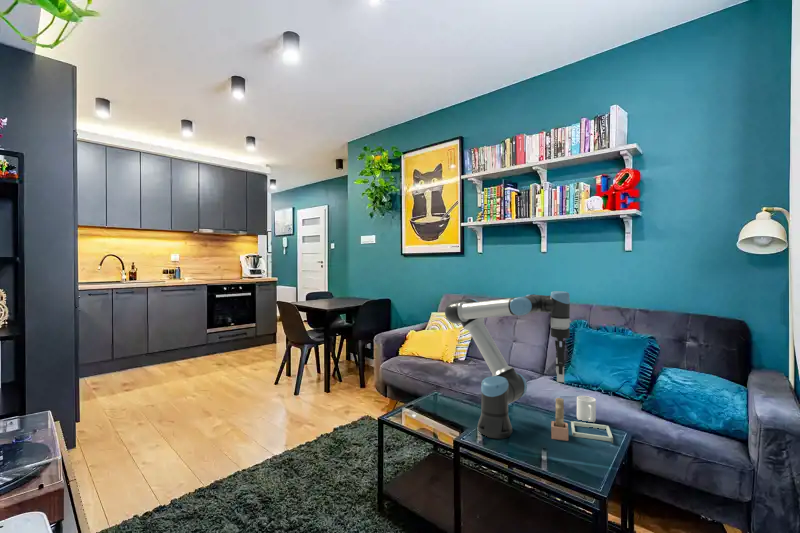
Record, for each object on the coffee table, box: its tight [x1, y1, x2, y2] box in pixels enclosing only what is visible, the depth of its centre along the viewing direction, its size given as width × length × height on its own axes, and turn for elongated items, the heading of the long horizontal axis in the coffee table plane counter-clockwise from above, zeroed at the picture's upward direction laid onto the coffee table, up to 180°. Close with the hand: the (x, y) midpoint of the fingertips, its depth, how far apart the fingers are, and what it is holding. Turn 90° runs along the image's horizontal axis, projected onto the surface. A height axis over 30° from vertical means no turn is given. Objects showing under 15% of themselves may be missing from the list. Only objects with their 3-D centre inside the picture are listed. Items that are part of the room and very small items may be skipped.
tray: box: [570, 420, 614, 445], centre depth 174 cm, size 15×13×2 cm
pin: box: [555, 397, 565, 428], centre depth 170 cm, size 3×3×16 cm
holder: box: [550, 420, 569, 442], centre depth 170 cm, size 7×7×6 cm
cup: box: [576, 395, 597, 423], centre depth 189 cm, size 8×12×10 cm
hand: (559, 377), depth 170 cm, fingers open, 13 cm apart
